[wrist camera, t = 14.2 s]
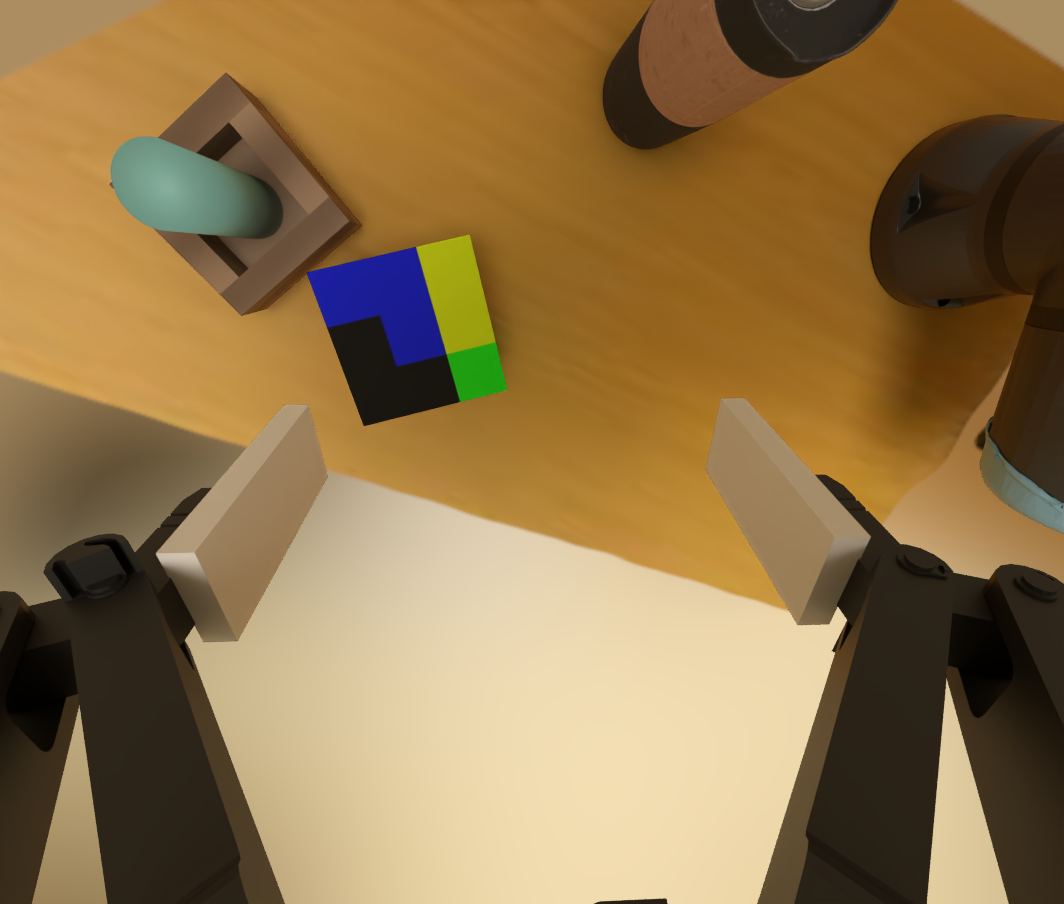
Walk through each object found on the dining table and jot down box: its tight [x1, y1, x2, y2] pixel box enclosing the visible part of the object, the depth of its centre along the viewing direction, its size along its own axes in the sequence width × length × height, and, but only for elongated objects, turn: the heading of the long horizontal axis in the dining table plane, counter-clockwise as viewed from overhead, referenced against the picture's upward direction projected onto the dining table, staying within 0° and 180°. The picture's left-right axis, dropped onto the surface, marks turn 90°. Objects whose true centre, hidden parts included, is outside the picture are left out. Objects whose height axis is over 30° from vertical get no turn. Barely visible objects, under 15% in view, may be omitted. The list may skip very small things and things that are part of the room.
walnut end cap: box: [109, 73, 362, 316], centre depth 34 cm, size 10×10×5 cm
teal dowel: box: [111, 137, 283, 239], centre depth 29 cm, size 4×4×12 cm
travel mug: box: [603, 0, 898, 149], centre depth 28 cm, size 8×8×20 cm
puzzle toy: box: [307, 234, 507, 426], centre depth 36 cm, size 10×10×10 cm
